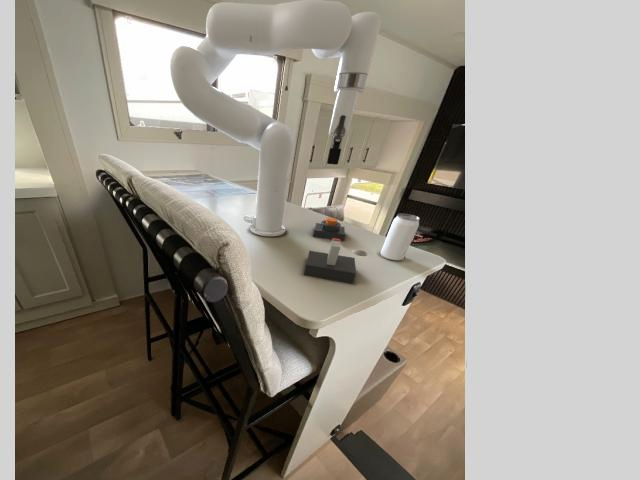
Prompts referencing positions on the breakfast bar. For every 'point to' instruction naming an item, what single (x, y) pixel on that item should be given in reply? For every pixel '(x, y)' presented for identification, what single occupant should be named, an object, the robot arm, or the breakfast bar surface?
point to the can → (400, 236)
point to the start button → (331, 221)
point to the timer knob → (333, 251)
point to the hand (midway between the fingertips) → (332, 163)
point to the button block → (329, 231)
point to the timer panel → (330, 267)
